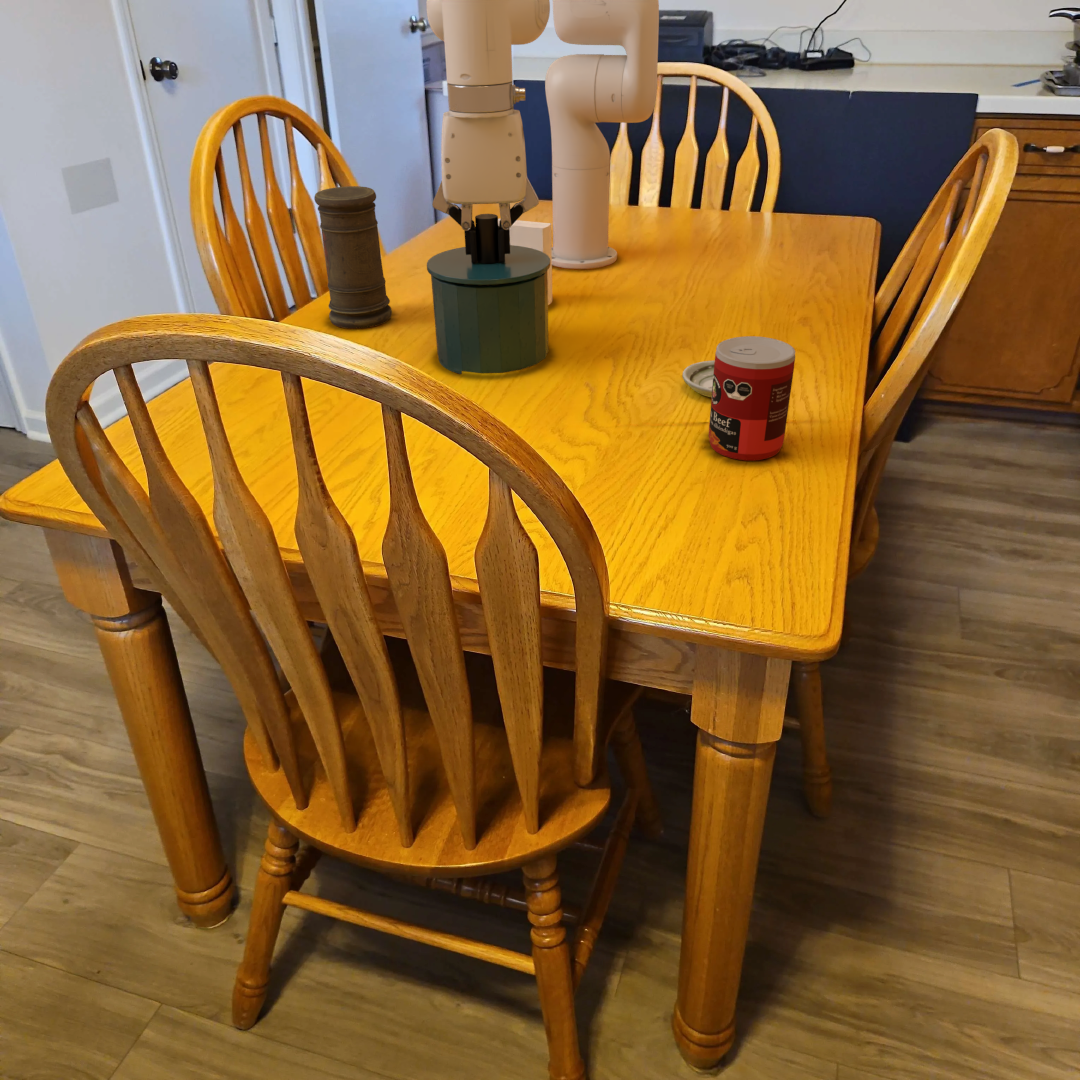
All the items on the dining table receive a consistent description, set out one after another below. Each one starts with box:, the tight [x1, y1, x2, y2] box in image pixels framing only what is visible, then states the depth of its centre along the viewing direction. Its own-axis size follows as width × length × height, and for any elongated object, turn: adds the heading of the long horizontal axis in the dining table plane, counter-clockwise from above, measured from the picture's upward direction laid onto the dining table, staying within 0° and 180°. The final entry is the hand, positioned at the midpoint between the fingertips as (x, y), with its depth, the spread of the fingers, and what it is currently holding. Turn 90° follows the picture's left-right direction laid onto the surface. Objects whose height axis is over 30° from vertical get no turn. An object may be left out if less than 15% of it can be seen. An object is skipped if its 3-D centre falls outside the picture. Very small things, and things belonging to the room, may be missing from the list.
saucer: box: [681, 359, 715, 399], centre depth 111 cm, size 10×10×2 cm
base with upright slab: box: [498, 217, 553, 306], centre depth 138 cm, size 9×9×12 cm
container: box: [313, 185, 393, 329], centre depth 132 cm, size 9×9×18 cm
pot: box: [430, 271, 550, 375], centre depth 121 cm, size 15×15×12 cm
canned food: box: [708, 335, 796, 462], centre depth 97 cm, size 8×8×11 cm
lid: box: [426, 213, 550, 285], centre depth 116 cm, size 16×16×7 cm
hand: (488, 258), depth 117 cm, fingers closed on lid, 2 cm apart
